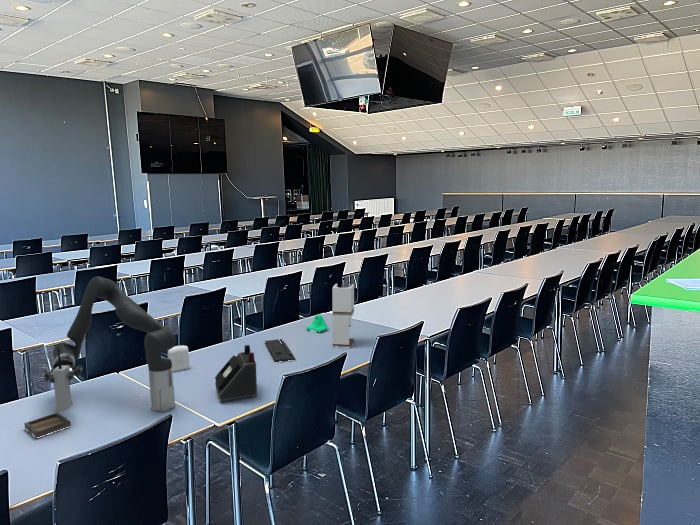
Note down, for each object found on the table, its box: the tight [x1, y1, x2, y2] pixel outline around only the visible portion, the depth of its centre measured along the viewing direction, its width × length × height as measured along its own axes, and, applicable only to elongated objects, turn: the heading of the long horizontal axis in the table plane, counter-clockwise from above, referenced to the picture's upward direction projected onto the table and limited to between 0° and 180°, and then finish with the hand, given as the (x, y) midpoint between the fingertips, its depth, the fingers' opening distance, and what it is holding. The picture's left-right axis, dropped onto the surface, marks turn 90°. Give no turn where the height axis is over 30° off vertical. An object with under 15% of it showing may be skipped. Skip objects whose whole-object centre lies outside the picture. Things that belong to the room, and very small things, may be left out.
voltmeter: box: [214, 344, 258, 403], centre depth 225 cm, size 16×16×20 cm
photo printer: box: [167, 345, 190, 373], centre depth 254 cm, size 10×4×12 cm, turn 124°
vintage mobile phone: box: [53, 348, 74, 412], centre depth 195 cm, size 4×5×25 cm
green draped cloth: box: [305, 313, 329, 333], centre depth 320 cm, size 12×8×10 cm, turn 56°
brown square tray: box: [24, 411, 72, 439], centre depth 194 cm, size 12×12×2 cm
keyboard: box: [264, 338, 297, 363], centre depth 282 cm, size 35×11×2 cm, turn 18°
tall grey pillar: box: [331, 283, 355, 348], centre depth 291 cm, size 11×11×35 cm
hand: (61, 379), depth 192 cm, fingers closed on vintage mobile phone, 5 cm apart
